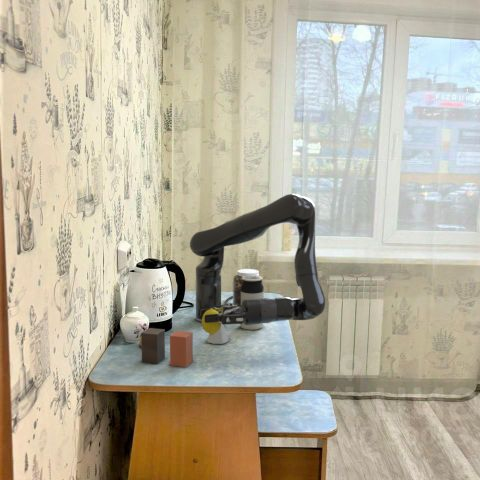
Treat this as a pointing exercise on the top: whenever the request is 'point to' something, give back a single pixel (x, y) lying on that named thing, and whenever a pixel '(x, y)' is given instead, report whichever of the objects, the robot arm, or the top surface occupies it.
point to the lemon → (212, 326)
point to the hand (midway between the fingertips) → (202, 316)
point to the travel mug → (251, 294)
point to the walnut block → (153, 345)
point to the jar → (238, 282)
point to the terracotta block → (181, 348)
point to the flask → (218, 336)
